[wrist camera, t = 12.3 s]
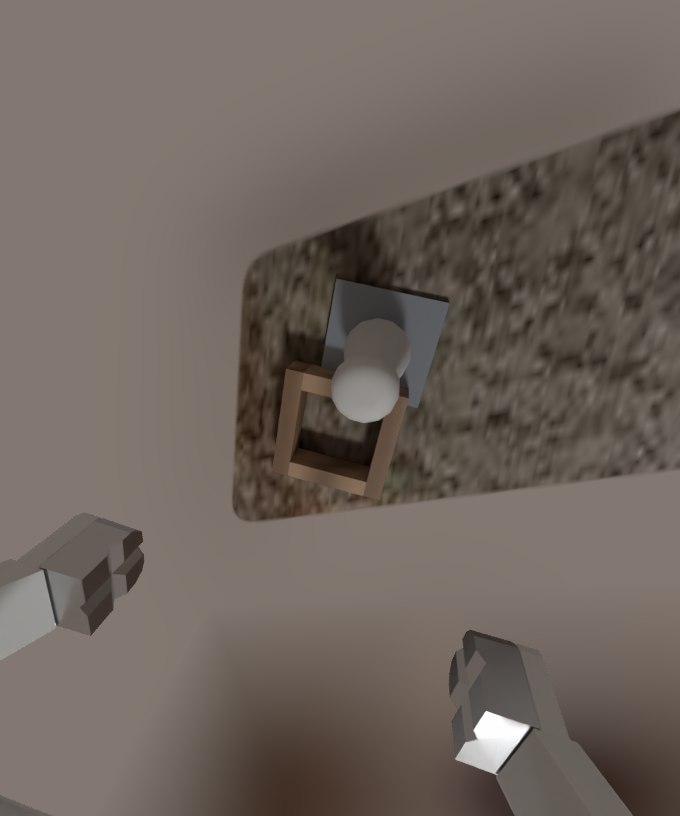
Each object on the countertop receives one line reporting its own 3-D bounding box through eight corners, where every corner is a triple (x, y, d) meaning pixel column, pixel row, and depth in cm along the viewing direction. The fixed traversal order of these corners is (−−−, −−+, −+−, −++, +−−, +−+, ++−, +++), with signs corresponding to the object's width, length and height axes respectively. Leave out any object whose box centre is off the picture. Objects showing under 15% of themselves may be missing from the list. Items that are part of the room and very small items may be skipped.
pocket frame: (408, 387, 35) (408, 398, 32) (381, 483, 39) (379, 500, 37) (295, 360, 36) (286, 368, 33) (281, 457, 40) (272, 471, 38)
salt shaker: (355, 381, 35) (328, 444, 23) (340, 323, 33) (302, 359, 21) (416, 369, 34) (420, 430, 22) (404, 307, 32) (401, 337, 20)
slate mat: (449, 302, 31) (449, 303, 31) (417, 406, 35) (417, 408, 35) (337, 278, 32) (336, 278, 32) (318, 382, 36) (317, 383, 36)
